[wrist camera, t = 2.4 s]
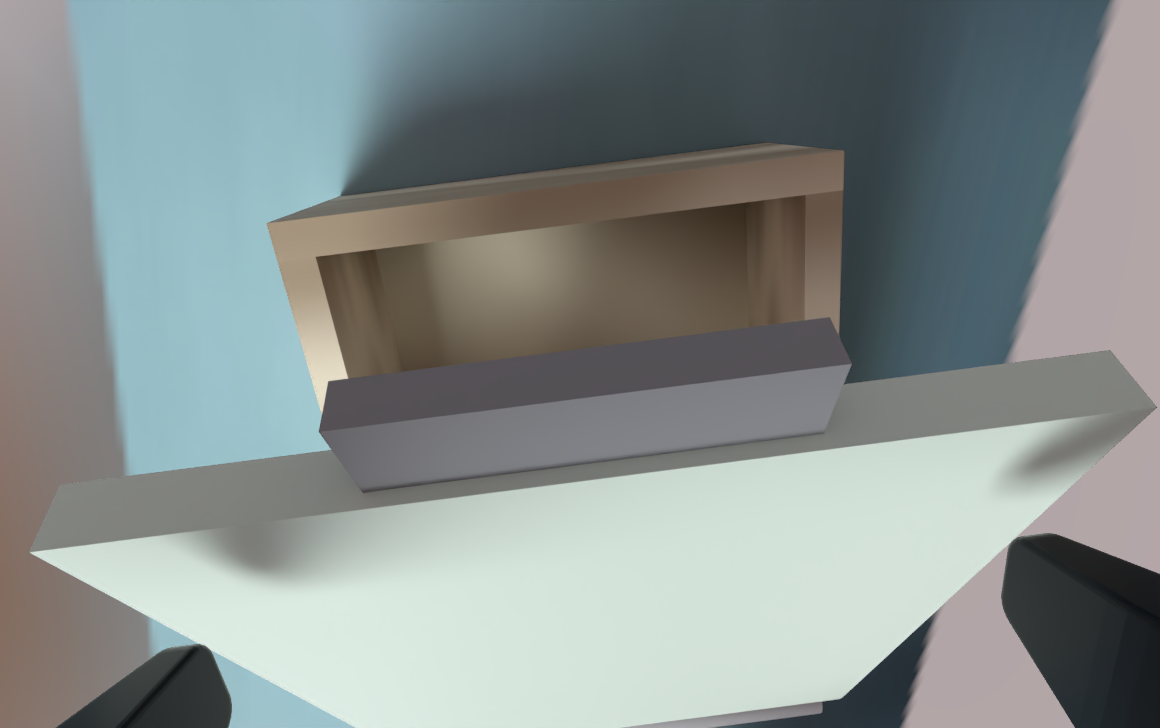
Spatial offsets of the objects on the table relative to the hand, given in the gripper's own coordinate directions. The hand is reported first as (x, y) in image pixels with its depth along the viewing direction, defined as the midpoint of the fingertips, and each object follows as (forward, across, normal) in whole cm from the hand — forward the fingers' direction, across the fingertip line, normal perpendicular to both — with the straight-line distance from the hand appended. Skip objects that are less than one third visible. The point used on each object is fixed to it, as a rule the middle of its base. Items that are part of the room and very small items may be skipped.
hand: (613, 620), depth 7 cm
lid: (+4, 0, +4) cm, 6 cm away
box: (+13, 0, +3) cm, 13 cm away
